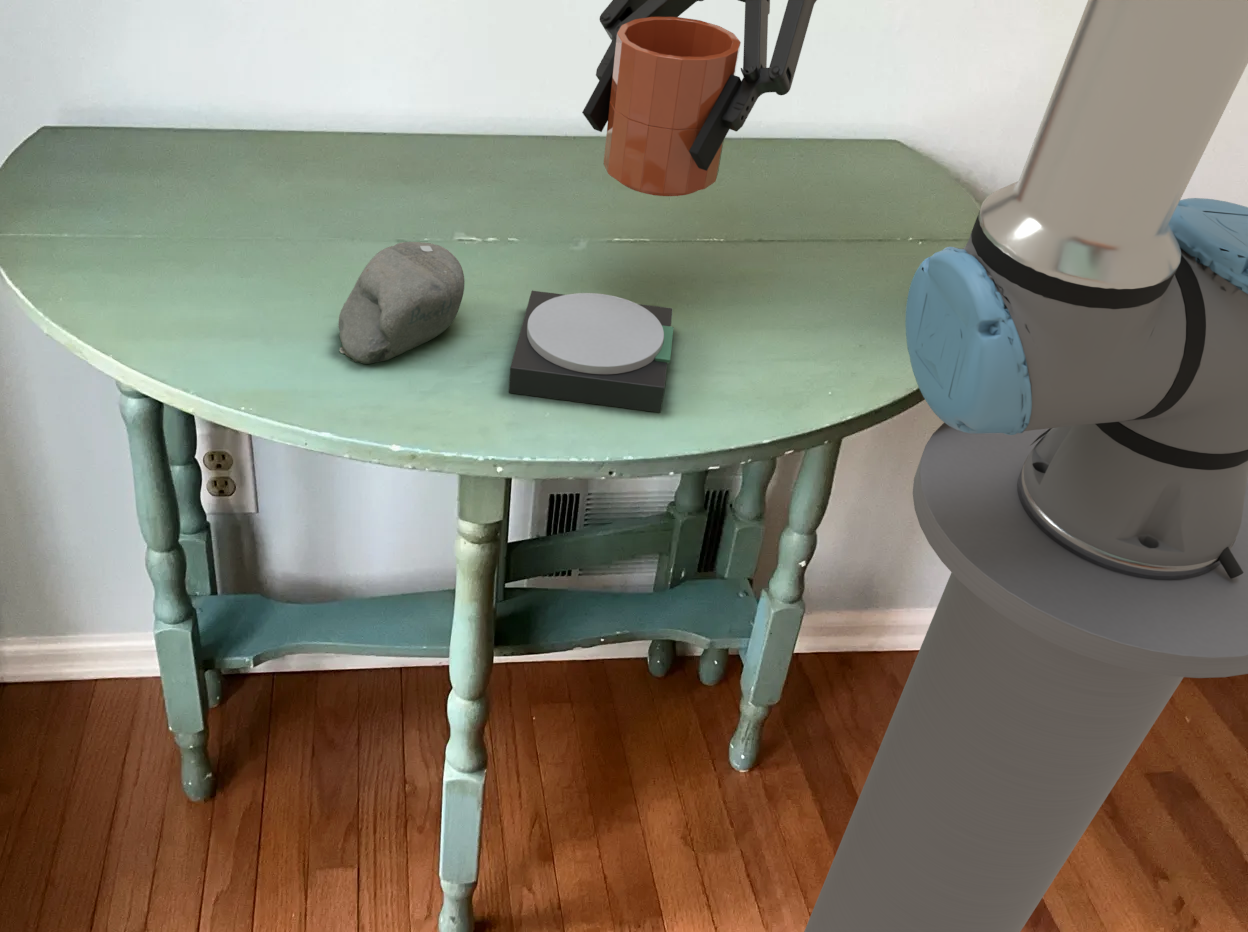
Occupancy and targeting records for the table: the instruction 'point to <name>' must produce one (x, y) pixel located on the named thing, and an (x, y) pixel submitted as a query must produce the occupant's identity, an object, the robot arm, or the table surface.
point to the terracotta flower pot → (665, 102)
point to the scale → (593, 350)
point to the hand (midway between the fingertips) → (643, 141)
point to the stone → (400, 301)
